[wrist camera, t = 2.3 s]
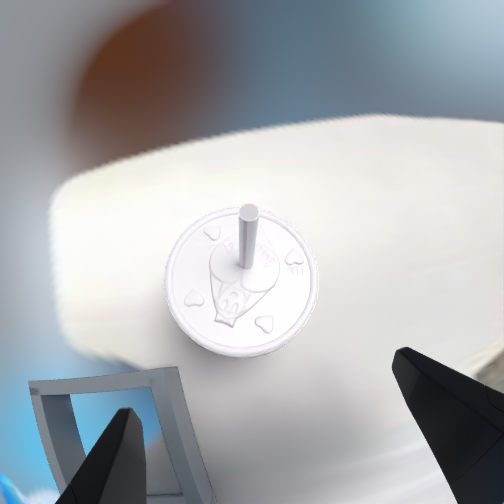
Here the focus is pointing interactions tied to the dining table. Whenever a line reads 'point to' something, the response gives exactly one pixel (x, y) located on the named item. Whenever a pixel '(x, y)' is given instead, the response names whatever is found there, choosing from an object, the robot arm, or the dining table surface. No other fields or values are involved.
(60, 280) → the dining table surface
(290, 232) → the smoothie
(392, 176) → the dining table surface
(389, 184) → the dining table surface
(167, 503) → the endcap cradle
